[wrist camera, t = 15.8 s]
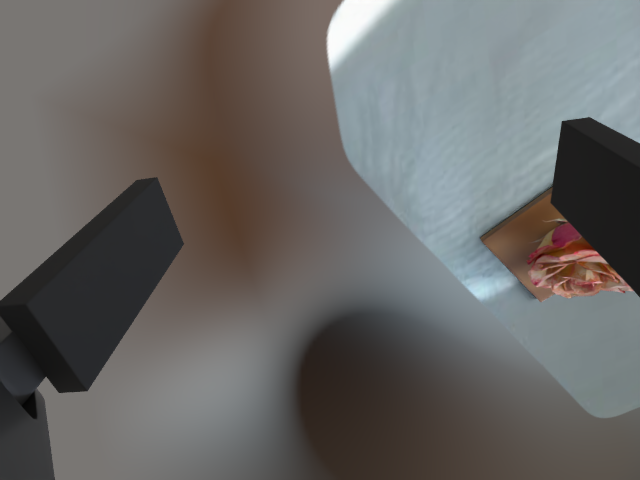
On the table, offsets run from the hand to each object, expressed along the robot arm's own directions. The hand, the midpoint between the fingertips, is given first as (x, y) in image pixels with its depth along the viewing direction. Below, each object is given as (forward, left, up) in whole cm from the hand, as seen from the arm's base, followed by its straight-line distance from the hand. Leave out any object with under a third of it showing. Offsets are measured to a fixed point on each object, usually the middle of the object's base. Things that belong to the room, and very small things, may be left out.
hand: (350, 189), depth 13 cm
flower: (+26, -7, -24) cm, 36 cm away
